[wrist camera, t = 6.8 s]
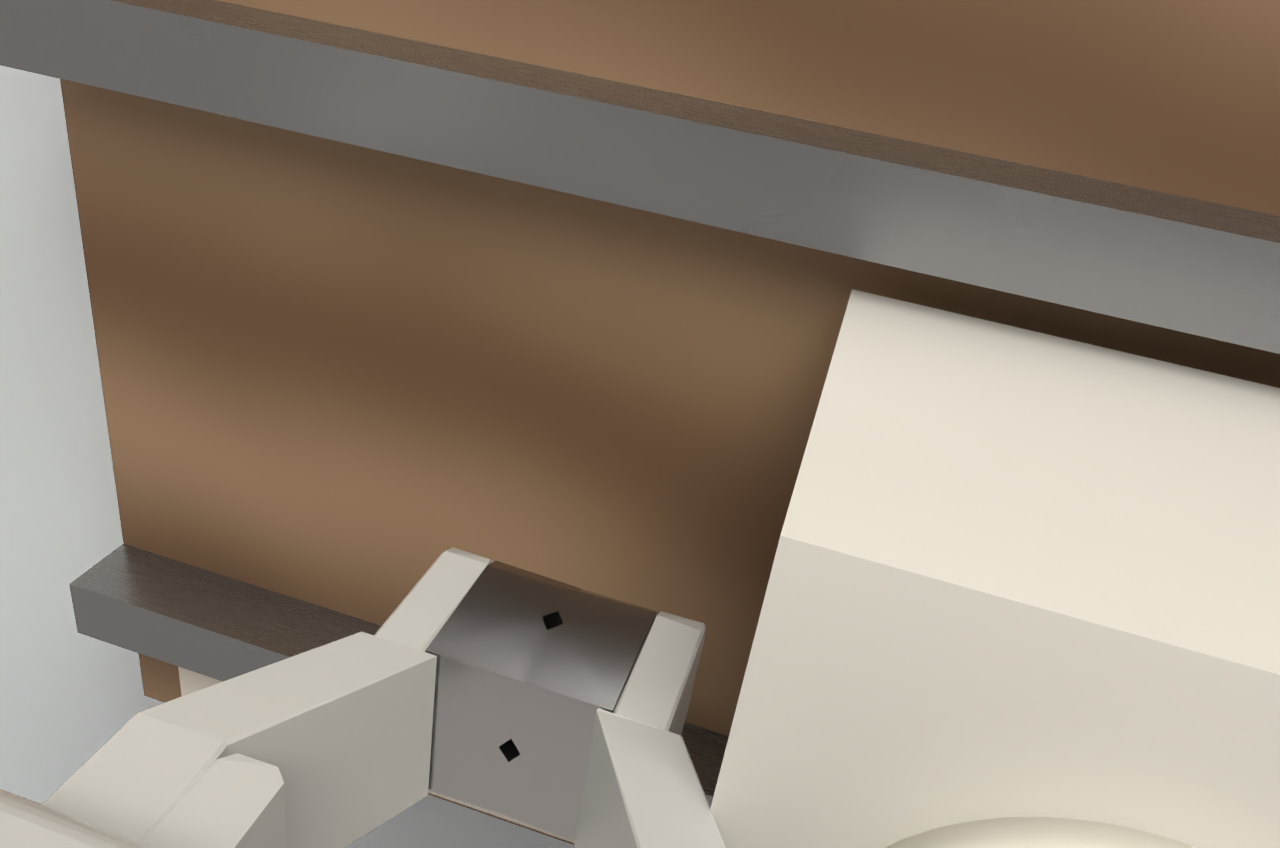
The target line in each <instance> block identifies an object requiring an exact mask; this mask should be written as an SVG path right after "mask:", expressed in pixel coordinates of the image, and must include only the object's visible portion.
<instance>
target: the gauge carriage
mask: <svg viewBox="0 0 1280 848" xmlns="http://www.w3.org/2000/svg"><path fill="white" fill-rule="evenodd" d="M710 811H711V812H712V813H713V816H714V819H715V821H716V824H717V826H718V829H719V831H720V834H721V836H722V839H723V841H724V844H725V846H726V848H1280V388H1277V387H1272V386H1268V385H1264V384H1260V383H1255V382H1251V381H1247V380H1242V379H1238V378H1234V377H1229V376H1225V375H1221V374H1216V373H1212V372H1208V371H1203V370H1199V369H1195V368H1190V367H1186V366H1182V365H1177V364H1173V363H1169V362H1165V361H1160V360H1156V359H1152V358H1147V357H1143V356H1139V355H1134V354H1130V353H1126V352H1121V351H1117V350H1113V349H1108V348H1104V347H1100V346H1095V345H1091V344H1087V343H1082V342H1078V341H1074V340H1069V339H1065V338H1061V337H1057V336H1052V335H1048V334H1044V333H1039V332H1035V331H1031V330H1026V329H1022V328H1018V327H1013V326H1009V325H1005V324H1000V323H996V322H992V321H987V320H983V319H979V318H974V317H970V316H966V315H962V314H957V313H953V312H949V311H944V310H940V309H936V308H931V307H927V306H923V305H918V304H914V303H910V302H905V301H901V300H897V299H892V298H888V297H884V296H879V295H875V294H871V293H867V292H862V291H858V290H854V289H852V291H851V294H850V298H849V301H848V305H847V308H846V312H845V315H844V319H843V322H842V325H841V329H840V332H839V336H838V339H837V343H836V346H835V349H834V353H833V356H832V360H831V363H830V367H829V370H828V373H827V377H826V380H825V384H824V387H823V391H822V394H821V398H820V401H819V404H818V408H817V411H816V415H815V418H814V422H813V425H812V428H811V432H810V435H809V439H808V442H807V446H806V449H805V453H804V456H803V459H802V463H801V466H800V470H799V473H798V477H797V480H796V483H795V487H794V490H793V494H792V497H791V501H790V504H789V507H788V511H787V514H786V518H785V521H784V525H783V528H782V532H781V535H780V539H779V543H778V547H777V550H776V554H775V558H774V562H773V566H772V570H771V574H770V578H769V582H768V586H767V590H766V593H765V597H764V601H763V605H762V609H761V613H760V617H759V621H758V625H757V629H756V632H755V636H754V640H753V644H752V648H751V652H750V656H749V660H748V664H747V668H746V671H745V675H744V679H743V683H742V687H741V691H740V695H739V699H738V703H737V707H736V711H735V714H734V718H733V722H732V726H731V730H730V734H729V738H728V742H727V746H726V750H725V753H724V757H723V761H722V765H721V769H720V773H719V777H718V781H717V785H716V789H715V792H714V796H713V800H712V804H711V808H710Z"/></svg>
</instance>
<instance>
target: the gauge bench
mask: <svg viewBox="0 0 1280 848" xmlns="http://www.w3.org/2000/svg"><path fill="white" fill-rule="evenodd" d="M218 1H223V2H228V3H233V4H238V5H243V6H248V7H252V8H257V9H262V10H267V11H272V12H277V13H282V14H287V15H292V16H297V17H302V18H307V19H312V20H317V21H321V22H326V23H331V24H336V25H341V26H346V27H351V28H356V29H361V30H366V31H371V32H376V33H381V34H385V35H390V36H395V37H400V38H405V39H410V40H415V41H420V42H425V43H430V44H435V45H440V46H445V47H450V48H454V49H459V50H464V51H469V52H474V53H479V54H484V55H489V56H494V57H499V58H504V59H509V60H514V61H518V62H523V63H528V64H533V65H538V66H543V67H548V68H553V69H558V70H563V71H568V72H573V73H578V74H582V75H587V76H592V77H597V78H602V79H607V80H612V81H617V82H622V83H627V84H632V85H637V86H642V87H647V88H651V89H656V90H661V91H666V92H671V93H676V94H681V95H686V96H691V97H696V98H701V99H706V100H711V101H715V102H720V103H725V104H730V105H735V106H740V107H745V108H750V109H755V110H760V111H765V112H770V113H775V114H780V115H784V116H789V117H794V118H799V119H804V120H809V121H814V122H819V123H824V124H829V125H834V126H839V127H844V128H848V129H853V130H858V131H863V132H868V133H873V134H878V135H883V136H888V137H893V138H898V139H903V140H908V141H912V142H917V143H922V144H927V145H932V146H937V147H942V148H947V149H952V150H957V151H962V152H967V153H972V154H977V155H981V156H986V157H991V158H996V159H1001V160H1006V161H1011V162H1016V163H1021V164H1026V165H1031V166H1036V167H1041V168H1045V169H1050V170H1055V171H1060V172H1065V173H1070V174H1075V175H1080V176H1085V177H1090V178H1095V179H1100V180H1105V181H1110V182H1114V183H1119V184H1124V185H1129V186H1134V187H1139V188H1144V189H1149V190H1154V191H1159V192H1164V193H1169V194H1174V195H1178V196H1183V197H1188V198H1193V199H1198V200H1203V201H1208V202H1213V203H1218V204H1223V205H1228V206H1233V207H1238V208H1242V209H1247V210H1252V211H1257V212H1262V213H1267V214H1272V215H1277V216H1280V0H218ZM60 81H61V88H62V96H63V103H64V110H65V118H66V125H67V132H68V140H69V147H70V154H71V162H72V169H73V176H74V183H75V191H76V198H77V205H78V213H79V220H80V227H81V235H82V242H83V249H84V257H85V264H86V271H87V279H88V286H89V293H90V301H91V308H92V315H93V323H94V330H95V337H96V344H97V352H98V359H99V366H100V374H101V381H102V388H103V396H104V403H105V410H106V418H107V425H108V432H109V440H110V447H111V454H112V462H113V469H114V476H115V483H116V491H117V498H118V505H119V513H120V520H121V527H122V535H123V542H124V544H127V545H130V546H133V547H136V548H139V549H142V550H146V551H149V552H152V553H155V554H158V555H161V556H164V557H167V558H171V559H174V560H177V561H180V562H183V563H186V564H189V565H193V566H196V567H199V568H202V569H205V570H208V571H211V572H215V573H218V574H221V575H224V576H227V577H230V578H233V579H237V580H240V581H243V582H246V583H249V584H252V585H255V586H259V587H262V588H265V589H268V590H271V591H274V592H277V593H281V594H284V595H287V596H290V597H293V598H296V599H299V600H303V601H306V602H309V603H312V604H315V605H318V606H321V607H325V608H328V609H331V610H334V611H337V612H340V613H343V614H347V615H350V616H353V617H356V618H359V619H362V620H365V621H369V622H372V623H375V624H378V625H381V626H382V625H383V624H384V623H385V621H386V620H387V619H388V618H389V616H390V615H391V614H392V613H393V612H394V610H395V609H396V608H397V607H398V606H399V604H400V603H401V602H402V601H403V599H404V598H405V597H406V596H407V595H408V593H409V592H410V591H411V590H412V589H413V587H414V586H415V585H416V584H417V582H418V581H419V580H420V579H421V578H422V576H423V575H424V574H425V573H426V572H427V570H428V569H429V568H430V567H431V565H432V564H433V563H434V562H435V561H436V559H437V558H438V557H439V556H440V555H441V553H443V552H444V551H446V550H448V549H451V548H453V547H454V548H457V549H460V550H463V551H466V552H469V553H472V554H476V555H479V556H482V557H485V558H488V559H491V560H493V561H499V562H502V563H505V564H508V565H511V566H514V567H517V568H520V569H523V570H526V571H530V572H533V573H536V574H539V575H542V576H545V577H548V578H551V579H554V580H557V581H560V582H563V583H566V584H569V585H572V586H575V587H578V588H580V589H584V590H587V591H590V592H594V593H597V594H600V595H604V596H607V597H611V598H614V599H617V600H621V601H624V602H627V603H631V604H634V605H637V606H641V607H644V608H647V609H651V610H654V611H658V612H660V611H662V612H666V613H669V614H673V615H676V616H680V617H684V618H687V619H691V620H694V621H698V622H702V623H705V626H706V633H705V639H704V644H703V648H702V652H701V656H700V660H699V665H698V669H697V673H696V677H695V682H694V686H693V690H692V694H691V699H690V703H689V707H688V711H687V715H686V719H685V722H686V723H689V724H692V725H695V726H698V727H702V728H705V729H708V730H711V731H714V732H717V733H720V734H724V735H727V736H729V734H730V730H731V726H732V722H733V718H734V714H735V711H736V707H737V703H738V699H739V695H740V691H741V687H742V683H743V679H744V675H745V671H746V668H747V664H748V660H749V656H750V652H751V648H752V644H753V640H754V636H755V632H756V629H757V625H758V621H759V617H760V613H761V609H762V605H763V601H764V597H765V593H766V590H767V586H768V582H769V578H770V574H771V570H772V566H773V562H774V558H775V554H776V550H777V547H778V543H779V539H780V535H781V532H782V528H783V525H784V521H785V518H786V514H787V511H788V507H789V504H790V501H791V497H792V494H793V490H794V487H795V483H796V480H797V477H798V473H799V470H800V466H801V463H802V459H803V456H804V453H805V449H806V446H807V442H808V439H809V435H810V432H811V428H812V425H813V422H814V418H815V415H816V411H817V408H818V404H819V401H820V398H821V394H822V391H823V387H824V384H825V380H826V377H827V373H828V370H829V367H830V363H831V360H832V356H833V353H834V349H835V346H836V343H837V339H838V336H839V332H840V329H841V325H842V322H843V319H844V315H845V312H846V308H847V305H848V301H849V298H850V294H851V291H852V289H854V290H858V291H862V292H867V293H871V294H875V295H879V296H884V297H888V298H892V299H897V300H901V301H905V302H910V303H914V304H918V305H923V306H927V307H931V308H936V309H940V310H944V311H949V312H953V313H957V314H962V315H966V316H970V317H974V318H979V319H983V320H987V321H992V322H996V323H1000V324H1005V325H1009V326H1013V327H1018V328H1022V329H1026V330H1031V331H1035V332H1039V333H1044V334H1048V335H1052V336H1057V337H1061V338H1065V339H1069V340H1074V341H1078V342H1082V343H1087V344H1091V345H1095V346H1100V347H1104V348H1108V349H1113V350H1117V351H1121V352H1126V353H1130V354H1134V355H1139V356H1143V357H1147V358H1152V359H1156V360H1160V361H1165V362H1169V363H1173V364H1177V365H1182V366H1186V367H1190V368H1195V369H1199V370H1203V371H1208V372H1212V373H1216V374H1221V375H1225V376H1229V377H1234V378H1238V379H1242V380H1247V381H1251V382H1255V383H1260V384H1264V385H1268V386H1272V387H1277V388H1280V354H1277V353H1273V352H1269V351H1264V350H1260V349H1255V348H1251V347H1246V346H1242V345H1238V344H1233V343H1229V342H1224V341H1220V340H1215V339H1211V338H1207V337H1202V336H1198V335H1193V334H1189V333H1184V332H1180V331H1176V330H1171V329H1167V328H1162V327H1158V326H1153V325H1149V324H1145V323H1140V322H1136V321H1131V320H1127V319H1122V318H1118V317H1114V316H1109V315H1105V314H1100V313H1096V312H1091V311H1087V310H1083V309H1078V308H1074V307H1069V306H1065V305H1060V304H1056V303H1052V302H1047V301H1043V300H1038V299H1034V298H1029V297H1025V296H1021V295H1016V294H1012V293H1007V292H1003V291H998V290H994V289H990V288H985V287H981V286H976V285H972V284H967V283H963V282H959V281H954V280H950V279H945V278H941V277H936V276H932V275H928V274H923V273H919V272H914V271H910V270H906V269H901V268H897V267H892V266H888V265H883V264H879V263H875V262H870V261H866V260H861V259H857V258H852V257H848V256H844V255H839V254H835V253H830V252H826V251H821V250H817V249H813V248H808V247H804V246H799V245H795V244H790V243H786V242H782V241H777V240H773V239H768V238H764V237H759V236H755V235H751V234H746V233H742V232H737V231H733V230H728V229H724V228H720V227H715V226H711V225H706V224H702V223H697V222H693V221H689V220H684V219H680V218H675V217H671V216H666V215H662V214H658V213H653V212H649V211H644V210H640V209H635V208H631V207H627V206H622V205H618V204H613V203H609V202H604V201H600V200H596V199H591V198H587V197H582V196H578V195H573V194H569V193H565V192H560V191H556V190H551V189H547V188H543V187H538V186H534V185H529V184H525V183H520V182H516V181H512V180H507V179H503V178H498V177H494V176H489V175H485V174H481V173H476V172H472V171H467V170H463V169H458V168H454V167H450V166H445V165H441V164H436V163H432V162H427V161H423V160H419V159H414V158H410V157H405V156H401V155H396V154H392V153H388V152H383V151H379V150H374V149H370V148H365V147H361V146H357V145H352V144H348V143H343V142H339V141H334V140H330V139H326V138H321V137H317V136H312V135H308V134H303V133H299V132H295V131H290V130H286V129H281V128H277V127H272V126H268V125H264V124H259V123H255V122H250V121H246V120H241V119H237V118H233V117H228V116H224V115H219V114H215V113H210V112H206V111H202V110H197V109H193V108H188V107H184V106H180V105H175V104H171V103H166V102H162V101H157V100H153V99H149V98H144V97H140V96H135V95H131V94H126V93H122V92H118V91H113V90H109V89H104V88H100V87H95V86H91V85H87V84H82V83H78V82H73V81H69V80H64V79H60ZM139 659H140V666H141V674H142V681H143V688H144V695H145V696H148V697H151V698H154V699H157V700H159V701H162V702H168V701H171V700H174V699H176V698H179V697H182V696H185V695H188V694H190V693H193V692H196V691H199V690H201V689H204V688H207V687H210V686H212V685H215V684H218V683H221V682H223V681H220V680H217V679H214V678H211V677H208V676H205V675H202V674H199V673H196V672H193V671H190V670H187V669H184V668H181V667H178V666H175V665H172V664H170V663H167V662H164V661H161V660H158V659H155V658H152V657H149V656H146V655H143V654H140V653H139ZM428 794H430V795H432V796H435V797H438V798H441V799H444V800H447V801H450V802H453V803H455V804H458V805H461V806H464V807H467V808H470V809H473V810H476V811H478V812H481V813H484V814H487V815H490V816H493V817H496V818H499V819H501V820H504V821H507V822H510V823H513V824H516V825H519V826H522V827H524V828H527V829H530V830H533V831H536V832H539V833H542V834H545V835H547V836H550V837H553V838H556V839H559V840H562V841H565V842H568V843H570V844H573V845H574V843H575V842H574V841H571V840H568V839H566V838H563V837H561V836H558V835H555V834H553V833H550V832H547V831H545V830H542V829H540V828H537V827H534V826H532V825H529V824H527V823H524V822H521V821H519V820H516V819H513V818H511V817H508V816H506V815H503V814H500V813H497V812H494V811H491V810H488V809H485V808H481V807H478V806H475V805H472V804H469V803H466V802H463V801H460V800H456V799H453V798H450V797H447V796H444V795H441V794H438V793H434V792H431V791H428Z"/></svg>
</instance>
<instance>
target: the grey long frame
mask: <svg viewBox="0 0 1280 848" xmlns="http://www.w3.org/2000/svg"><path fill="white" fill-rule="evenodd" d="M0 65H2V66H7V67H11V68H16V69H20V70H25V71H29V72H33V73H38V74H42V75H47V76H51V77H56V78H60V79H64V80H69V81H73V82H78V83H82V84H87V85H91V86H95V87H100V88H104V89H109V90H113V91H118V92H122V93H126V94H131V95H135V96H140V97H144V98H149V99H153V100H157V101H162V102H166V103H171V104H175V105H180V106H184V107H188V108H193V109H197V110H202V111H206V112H210V113H215V114H219V115H224V116H228V117H233V118H237V119H241V120H246V121H250V122H255V123H259V124H264V125H268V126H272V127H277V128H281V129H286V130H290V131H295V132H299V133H303V134H308V135H312V136H317V137H321V138H326V139H330V140H334V141H339V142H343V143H348V144H352V145H357V146H361V147H365V148H370V149H374V150H379V151H383V152H388V153H392V154H396V155H401V156H405V157H410V158H414V159H419V160H423V161H427V162H432V163H436V164H441V165H445V166H450V167H454V168H458V169H463V170H467V171H472V172H476V173H481V174H485V175H489V176H494V177H498V178H503V179H507V180H512V181H516V182H520V183H525V184H529V185H534V186H538V187H543V188H547V189H551V190H556V191H560V192H565V193H569V194H573V195H578V196H582V197H587V198H591V199H596V200H600V201H604V202H609V203H613V204H618V205H622V206H627V207H631V208H635V209H640V210H644V211H649V212H653V213H658V214H662V215H666V216H671V217H675V218H680V219H684V220H689V221H693V222H697V223H702V224H706V225H711V226H715V227H720V228H724V229H728V230H733V231H737V232H742V233H746V234H751V235H755V236H759V237H764V238H768V239H773V240H777V241H782V242H786V243H790V244H795V245H799V246H804V247H808V248H813V249H817V250H821V251H826V252H830V253H835V254H839V255H844V256H848V257H852V258H857V259H861V260H866V261H870V262H875V263H879V264H883V265H888V266H892V267H897V268H901V269H906V270H910V271H914V272H919V273H923V274H928V275H932V276H936V277H941V278H945V279H950V280H954V281H959V282H963V283H967V284H972V285H976V286H981V287H985V288H990V289H994V290H998V291H1003V292H1007V293H1012V294H1016V295H1021V296H1025V297H1029V298H1034V299H1038V300H1043V301H1047V302H1052V303H1056V304H1060V305H1065V306H1069V307H1074V308H1078V309H1083V310H1087V311H1091V312H1096V313H1100V314H1105V315H1109V316H1114V317H1118V318H1122V319H1127V320H1131V321H1136V322H1140V323H1145V324H1149V325H1153V326H1158V327H1162V328H1167V329H1171V330H1176V331H1180V332H1184V333H1189V334H1193V335H1198V336H1202V337H1207V338H1211V339H1215V340H1220V341H1224V342H1229V343H1233V344H1238V345H1242V346H1246V347H1251V348H1255V349H1260V350H1264V351H1269V352H1273V353H1277V354H1280V216H1277V215H1272V214H1267V213H1262V212H1257V211H1252V210H1247V209H1242V208H1238V207H1233V206H1228V205H1223V204H1218V203H1213V202H1208V201H1203V200H1198V199H1193V198H1188V197H1183V196H1178V195H1174V194H1169V193H1164V192H1159V191H1154V190H1149V189H1144V188H1139V187H1134V186H1129V185H1124V184H1119V183H1114V182H1110V181H1105V180H1100V179H1095V178H1090V177H1085V176H1080V175H1075V174H1070V173H1065V172H1060V171H1055V170H1050V169H1045V168H1041V167H1036V166H1031V165H1026V164H1021V163H1016V162H1011V161H1006V160H1001V159H996V158H991V157H986V156H981V155H977V154H972V153H967V152H962V151H957V150H952V149H947V148H942V147H937V146H932V145H927V144H922V143H917V142H912V141H908V140H903V139H898V138H893V137H888V136H883V135H878V134H873V133H868V132H863V131H858V130H853V129H848V128H844V127H839V126H834V125H829V124H824V123H819V122H814V121H809V120H804V119H799V118H794V117H789V116H784V115H780V114H775V113H770V112H765V111H760V110H755V109H750V108H745V107H740V106H735V105H730V104H725V103H720V102H715V101H711V100H706V99H701V98H696V97H691V96H686V95H681V94H676V93H671V92H666V91H661V90H656V89H651V88H647V87H642V86H637V85H632V84H627V83H622V82H617V81H612V80H607V79H602V78H597V77H592V76H587V75H582V74H578V73H573V72H568V71H563V70H558V69H553V68H548V67H543V66H538V65H533V64H528V63H523V62H518V61H514V60H509V59H504V58H499V57H494V56H489V55H484V54H479V53H474V52H469V51H464V50H459V49H454V48H450V47H445V46H440V45H435V44H430V43H425V42H420V41H415V40H410V39H405V38H400V37H395V36H390V35H385V34H381V33H376V32H371V31H366V30H361V29H356V28H351V27H346V26H341V25H336V24H331V23H326V22H321V21H317V20H312V19H307V18H302V17H297V16H292V15H287V14H282V13H277V12H272V11H267V10H262V9H257V8H252V7H248V6H243V5H238V4H233V3H228V2H223V1H218V0H0ZM70 590H71V596H72V602H73V607H74V613H75V619H76V625H77V630H78V633H81V634H84V635H87V636H90V637H93V638H96V639H99V640H102V641H105V642H108V643H111V644H114V645H117V646H119V647H122V648H125V649H128V650H131V651H134V652H137V653H140V654H143V655H146V656H149V657H152V658H155V659H158V660H161V661H164V662H167V663H170V664H172V665H175V666H178V667H181V668H184V669H187V670H190V671H193V672H196V673H199V674H202V675H205V676H208V677H211V678H214V679H217V680H220V681H226V680H229V679H232V678H234V677H237V676H240V675H243V674H245V673H248V672H251V671H254V670H257V669H259V668H262V667H265V666H268V665H270V664H273V663H276V662H279V661H281V660H284V659H287V658H290V657H292V656H295V655H298V654H301V653H303V652H306V651H309V650H312V649H315V648H317V647H320V646H323V645H326V644H328V643H331V642H334V641H337V640H339V639H342V638H345V637H348V636H350V635H353V634H356V633H359V632H364V633H367V634H371V635H375V633H376V632H377V631H378V630H379V629H380V627H381V625H378V624H375V623H372V622H369V621H365V620H362V619H359V618H356V617H353V616H350V615H347V614H343V613H340V612H337V611H334V610H331V609H328V608H325V607H321V606H318V605H315V604H312V603H309V602H306V601H303V600H299V599H296V598H293V597H290V596H287V595H284V594H281V593H277V592H274V591H271V590H268V589H265V588H262V587H259V586H255V585H252V584H249V583H246V582H243V581H240V580H237V579H233V578H230V577H227V576H224V575H221V574H218V573H215V572H211V571H208V570H205V569H202V568H199V567H196V566H193V565H189V564H186V563H183V562H180V561H177V560H174V559H171V558H167V557H164V556H161V555H158V554H155V553H152V552H149V551H146V550H142V549H139V548H136V547H133V546H130V545H127V544H122V545H121V546H120V547H118V548H117V549H116V550H114V551H113V552H112V553H110V554H109V555H108V556H106V557H105V558H104V559H102V560H101V561H100V562H98V563H97V564H96V565H95V566H93V567H92V568H91V569H89V570H88V571H87V572H85V573H84V574H83V575H81V576H80V577H79V578H77V579H76V580H75V581H73V582H72V583H71V584H70ZM681 736H682V737H683V740H684V743H685V745H686V748H687V750H688V753H689V755H690V758H691V760H692V763H693V765H694V768H695V770H696V773H697V775H698V778H699V781H700V783H701V786H702V788H703V791H704V793H705V796H706V798H707V801H708V803H709V806H710V808H711V804H712V800H713V796H714V792H715V789H716V785H717V781H718V777H719V773H720V769H721V765H722V761H723V757H724V753H725V750H726V746H727V742H728V738H729V736H727V735H724V734H720V733H717V732H714V731H711V730H708V729H705V728H702V727H698V726H695V725H692V724H689V723H686V722H684V726H683V730H682V733H681Z"/></svg>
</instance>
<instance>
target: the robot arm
mask: <svg viewBox="0 0 1280 848" xmlns="http://www.w3.org/2000/svg"><path fill="white" fill-rule="evenodd" d="M705 633H706V626H705V623H702V622H698V621H694V620H691V619H687V618H684V617H680V616H676V615H673V614H669V613H666V612H662V611H660V612H658V611H654V610H651V609H647V608H644V607H641V606H637V605H634V604H631V603H627V602H624V601H621V600H617V599H614V598H611V597H607V596H604V595H600V594H597V593H594V592H590V591H587V590H584V589H580V588H578V587H575V586H572V585H569V584H566V583H563V582H560V581H557V580H554V579H551V578H548V577H545V576H542V575H539V574H536V573H533V572H530V571H526V570H523V569H520V568H517V567H514V566H511V565H508V564H505V563H502V562H499V561H493V560H491V559H488V558H485V557H482V556H479V555H476V554H472V553H469V552H466V551H463V550H460V549H457V548H454V547H453V548H451V549H448V550H446V551H444V552H443V553H441V555H440V556H439V557H438V558H437V559H436V561H435V562H434V563H433V564H432V565H431V567H430V568H429V569H428V570H427V572H426V573H425V574H424V575H423V576H422V578H421V579H420V580H419V581H418V582H417V584H416V585H415V586H414V587H413V589H412V590H411V591H410V592H409V593H408V595H407V596H406V597H405V598H404V599H403V601H402V602H401V603H400V604H399V606H398V607H397V608H396V609H395V610H394V612H393V613H392V614H391V615H390V616H389V618H388V619H387V620H386V621H385V623H384V624H383V625H382V626H381V627H380V629H379V630H378V631H377V632H376V633H375V635H371V634H367V633H364V632H359V633H356V634H353V635H350V636H348V637H345V638H342V639H339V640H337V641H334V642H331V643H328V644H326V645H323V646H320V647H317V648H315V649H312V650H309V651H306V652H303V653H301V654H298V655H295V656H292V657H290V658H287V659H284V660H281V661H279V662H276V663H273V664H270V665H268V666H265V667H262V668H259V669H257V670H254V671H251V672H248V673H245V674H243V675H240V676H237V677H234V678H232V679H229V680H226V681H223V682H221V683H218V684H215V685H212V686H210V687H207V688H204V689H201V690H199V691H196V692H193V693H190V694H188V695H185V696H182V697H179V698H176V699H174V700H171V701H168V702H165V703H163V704H160V705H157V706H154V707H152V708H149V709H146V710H143V711H141V712H138V713H137V714H136V715H135V716H134V717H133V718H132V719H130V720H129V721H128V722H127V723H126V724H125V725H124V726H123V727H122V728H121V729H120V730H119V731H118V732H117V733H116V734H115V735H114V736H113V737H112V738H111V739H110V740H109V741H108V742H106V743H105V744H104V745H103V746H102V747H101V748H100V749H99V750H98V751H97V752H96V753H95V754H94V755H93V756H92V757H91V758H90V759H89V760H88V761H87V762H86V763H85V764H84V765H82V766H81V767H80V768H79V769H78V770H77V771H76V772H75V773H74V774H73V775H72V776H71V777H70V778H69V779H68V780H67V781H66V782H65V783H64V784H63V785H62V786H61V787H60V788H58V789H57V790H56V791H55V792H54V793H53V794H52V795H51V796H50V797H49V798H48V799H47V800H46V801H45V802H44V803H43V804H42V805H41V804H38V803H36V802H33V801H31V800H28V799H25V798H23V797H20V796H18V795H15V794H12V793H10V792H7V791H4V790H2V789H0V848H346V847H347V846H349V845H350V844H352V843H353V842H355V841H357V840H358V839H360V838H361V837H363V836H365V835H366V834H368V833H369V832H371V831H373V830H374V829H376V828H377V827H379V826H380V825H382V824H384V823H385V822H387V821H388V820H390V819H392V818H393V817H395V816H396V815H398V814H400V813H401V812H403V811H404V810H406V809H408V808H409V807H411V806H412V805H414V804H415V803H417V802H419V801H420V800H422V799H423V798H425V797H427V796H428V791H431V792H434V793H438V794H441V795H444V796H447V797H450V798H453V799H456V800H460V801H463V802H466V803H469V804H472V805H475V806H478V807H481V808H485V809H488V810H491V811H494V812H497V813H500V814H503V815H506V816H508V817H511V818H513V819H516V820H519V821H521V822H524V823H527V824H529V825H532V826H534V827H537V828H540V829H542V830H545V831H547V832H550V833H553V834H555V835H558V836H561V837H563V838H566V839H568V840H571V841H574V842H575V843H574V848H726V846H725V844H724V841H723V839H722V836H721V834H720V831H719V829H718V826H717V824H716V821H715V819H714V816H713V813H712V812H711V811H710V806H709V803H708V801H707V798H706V796H705V793H704V791H703V788H702V786H701V783H700V781H699V778H698V775H697V773H696V770H695V768H694V765H693V763H692V760H691V758H690V755H689V753H688V750H687V748H686V745H685V743H684V740H683V737H682V736H681V733H682V730H683V726H684V722H685V719H686V715H687V711H688V707H689V703H690V699H691V694H692V690H693V686H694V682H695V677H696V673H697V669H698V665H699V660H700V656H701V652H702V648H703V644H704V639H705Z"/></svg>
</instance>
